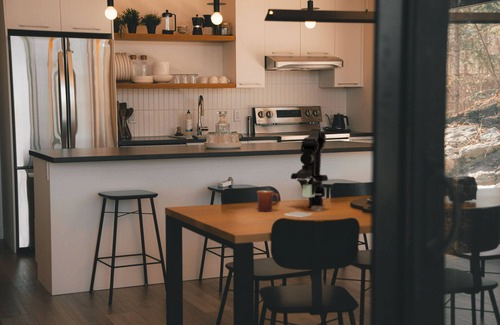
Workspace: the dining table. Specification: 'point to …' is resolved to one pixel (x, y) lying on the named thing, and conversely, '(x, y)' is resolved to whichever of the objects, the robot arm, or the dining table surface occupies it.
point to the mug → (266, 200)
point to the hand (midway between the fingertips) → (308, 194)
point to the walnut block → (316, 208)
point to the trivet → (298, 214)
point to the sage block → (307, 191)
